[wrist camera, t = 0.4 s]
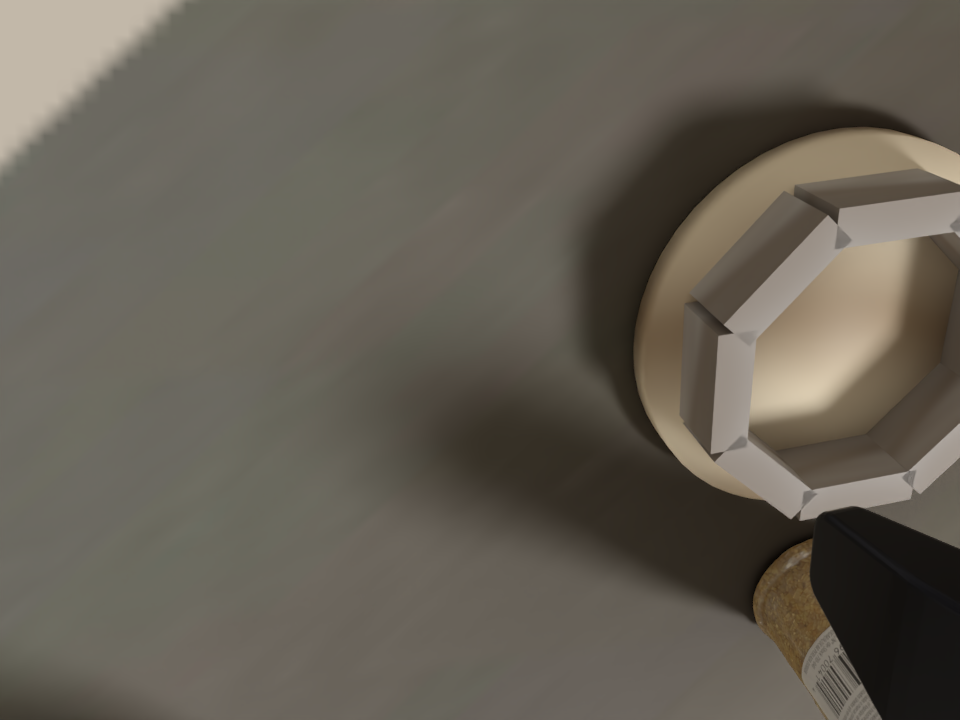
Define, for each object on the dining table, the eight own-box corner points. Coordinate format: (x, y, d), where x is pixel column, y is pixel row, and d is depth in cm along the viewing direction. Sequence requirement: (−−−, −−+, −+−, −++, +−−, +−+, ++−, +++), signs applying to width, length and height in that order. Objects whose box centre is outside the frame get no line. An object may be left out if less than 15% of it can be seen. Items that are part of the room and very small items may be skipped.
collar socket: (952, 449, 29) (1021, 503, 26) (630, 510, 27) (668, 575, 24) (1028, 104, 24) (1122, 129, 21) (636, 153, 22) (685, 186, 19)
